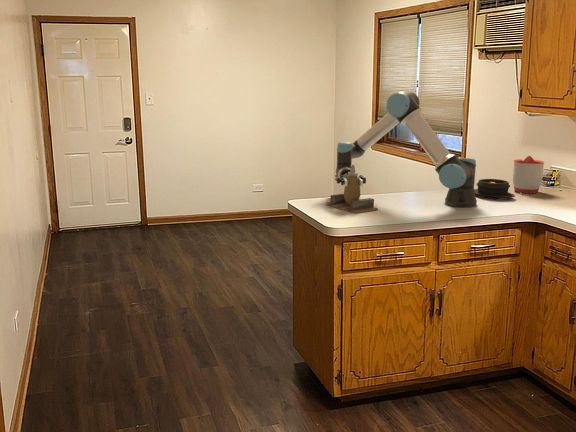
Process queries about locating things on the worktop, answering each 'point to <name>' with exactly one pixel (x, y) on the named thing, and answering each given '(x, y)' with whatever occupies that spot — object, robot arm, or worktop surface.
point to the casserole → (493, 188)
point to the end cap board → (347, 208)
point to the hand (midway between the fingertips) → (354, 183)
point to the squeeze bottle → (352, 186)
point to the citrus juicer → (527, 175)
